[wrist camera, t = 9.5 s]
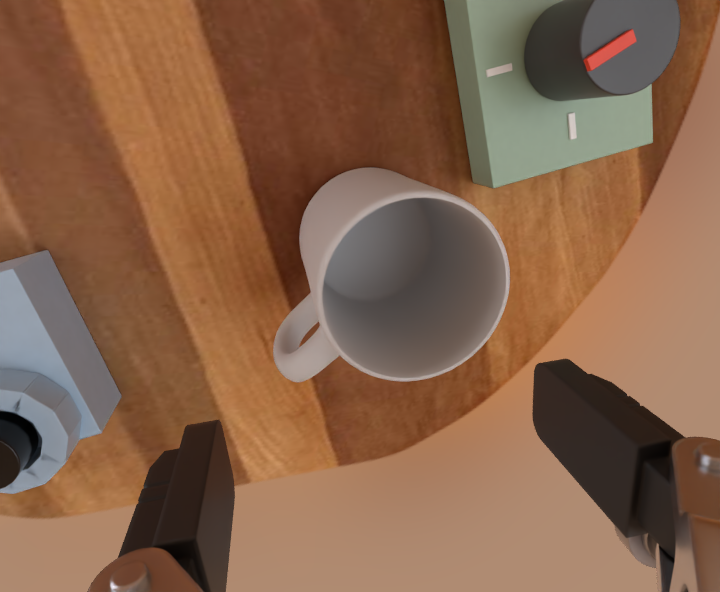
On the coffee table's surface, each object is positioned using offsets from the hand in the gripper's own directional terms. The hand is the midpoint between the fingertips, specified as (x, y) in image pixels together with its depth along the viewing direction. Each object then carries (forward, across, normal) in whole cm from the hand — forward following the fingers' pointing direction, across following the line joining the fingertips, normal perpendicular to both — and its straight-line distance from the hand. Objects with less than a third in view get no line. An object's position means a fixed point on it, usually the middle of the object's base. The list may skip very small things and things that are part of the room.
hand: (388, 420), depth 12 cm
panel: (+19, +14, +9) cm, 26 cm away
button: (+13, -17, -6) cm, 23 cm away
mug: (+19, +2, -1) cm, 19 cm away
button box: (+19, -19, -4) cm, 27 cm away
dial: (+16, +14, +9) cm, 23 cm away
